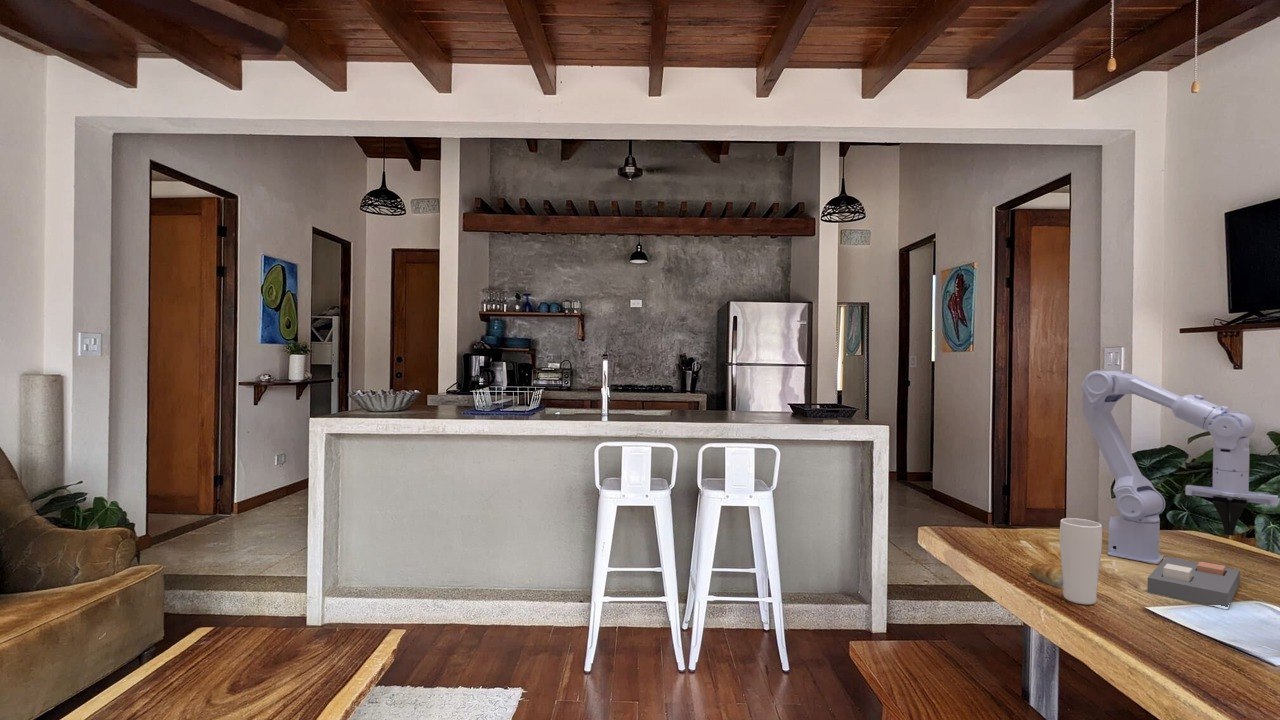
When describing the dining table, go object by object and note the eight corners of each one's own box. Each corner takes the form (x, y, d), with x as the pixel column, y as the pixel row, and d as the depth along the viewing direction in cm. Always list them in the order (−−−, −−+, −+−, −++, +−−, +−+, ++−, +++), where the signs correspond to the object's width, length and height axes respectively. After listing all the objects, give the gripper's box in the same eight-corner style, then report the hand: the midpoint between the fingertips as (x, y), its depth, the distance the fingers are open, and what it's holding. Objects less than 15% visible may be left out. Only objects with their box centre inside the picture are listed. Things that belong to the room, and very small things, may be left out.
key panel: (1147, 592, 133) (1147, 577, 133) (1166, 570, 147) (1166, 556, 147) (1227, 609, 125) (1227, 593, 125) (1239, 584, 138) (1239, 569, 138)
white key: (1163, 582, 134) (1163, 567, 134) (1166, 578, 137) (1167, 563, 137) (1188, 588, 131) (1189, 572, 131) (1192, 583, 134) (1192, 568, 134)
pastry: (1020, 574, 144) (1021, 556, 144) (1046, 572, 146) (1047, 555, 146) (1057, 589, 135) (1058, 570, 135) (1084, 587, 137) (1085, 568, 137)
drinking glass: (1101, 609, 124) (1103, 528, 124) (1058, 602, 128) (1059, 523, 128) (1100, 598, 130) (1101, 521, 130) (1058, 591, 134) (1060, 516, 133)
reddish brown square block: (1196, 580, 138) (1197, 565, 138) (1199, 575, 141) (1200, 561, 141) (1222, 585, 135) (1222, 570, 135) (1225, 580, 138) (1225, 565, 138)
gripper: (1183, 467, 144) (1182, 530, 144) (1276, 477, 134) (1275, 545, 134) (1188, 463, 149) (1187, 525, 149) (1279, 472, 138) (1277, 538, 139)
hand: (1229, 534), depth 142 cm, fingers closed
